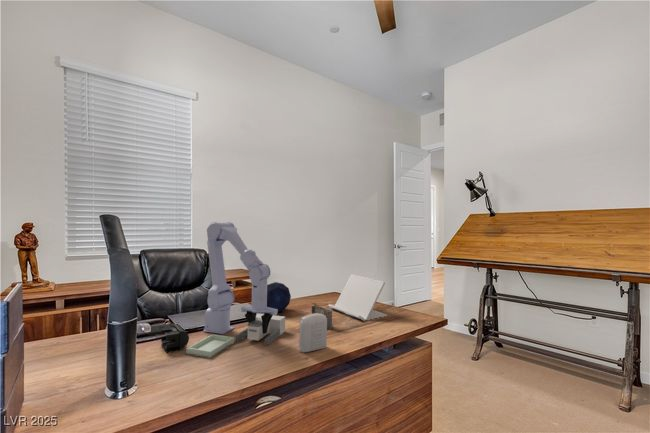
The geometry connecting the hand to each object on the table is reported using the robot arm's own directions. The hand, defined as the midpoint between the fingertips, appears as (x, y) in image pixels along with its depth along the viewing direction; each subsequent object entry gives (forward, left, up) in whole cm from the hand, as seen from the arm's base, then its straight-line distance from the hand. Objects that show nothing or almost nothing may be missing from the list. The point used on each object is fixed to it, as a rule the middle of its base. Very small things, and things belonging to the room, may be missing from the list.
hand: (258, 332), depth 125 cm
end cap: (-24, -17, -3) cm, 30 cm away
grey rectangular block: (0, 0, -1) cm, 1 cm away
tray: (-11, -14, -2) cm, 18 cm away
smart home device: (-41, -5, -3) cm, 41 cm away
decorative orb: (-10, +36, -3) cm, 37 cm away
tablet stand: (+29, +48, -3) cm, 56 cm away
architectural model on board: (+18, +23, -3) cm, 29 cm away
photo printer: (+23, -3, -3) cm, 23 cm away
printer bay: (0, +2, -2) cm, 3 cm away
